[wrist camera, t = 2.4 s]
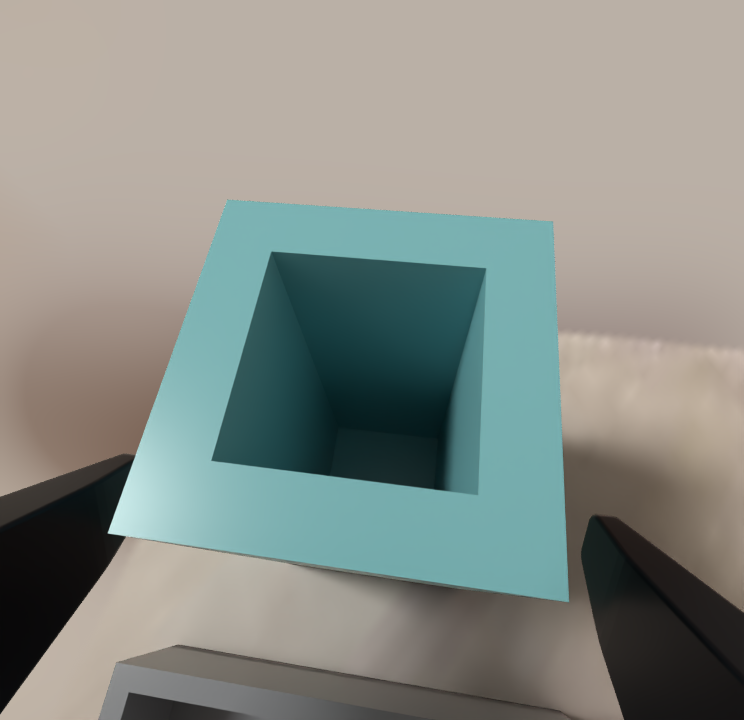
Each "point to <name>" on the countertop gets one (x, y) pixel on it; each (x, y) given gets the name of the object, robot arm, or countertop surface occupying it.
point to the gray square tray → (280, 693)
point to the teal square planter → (365, 401)
